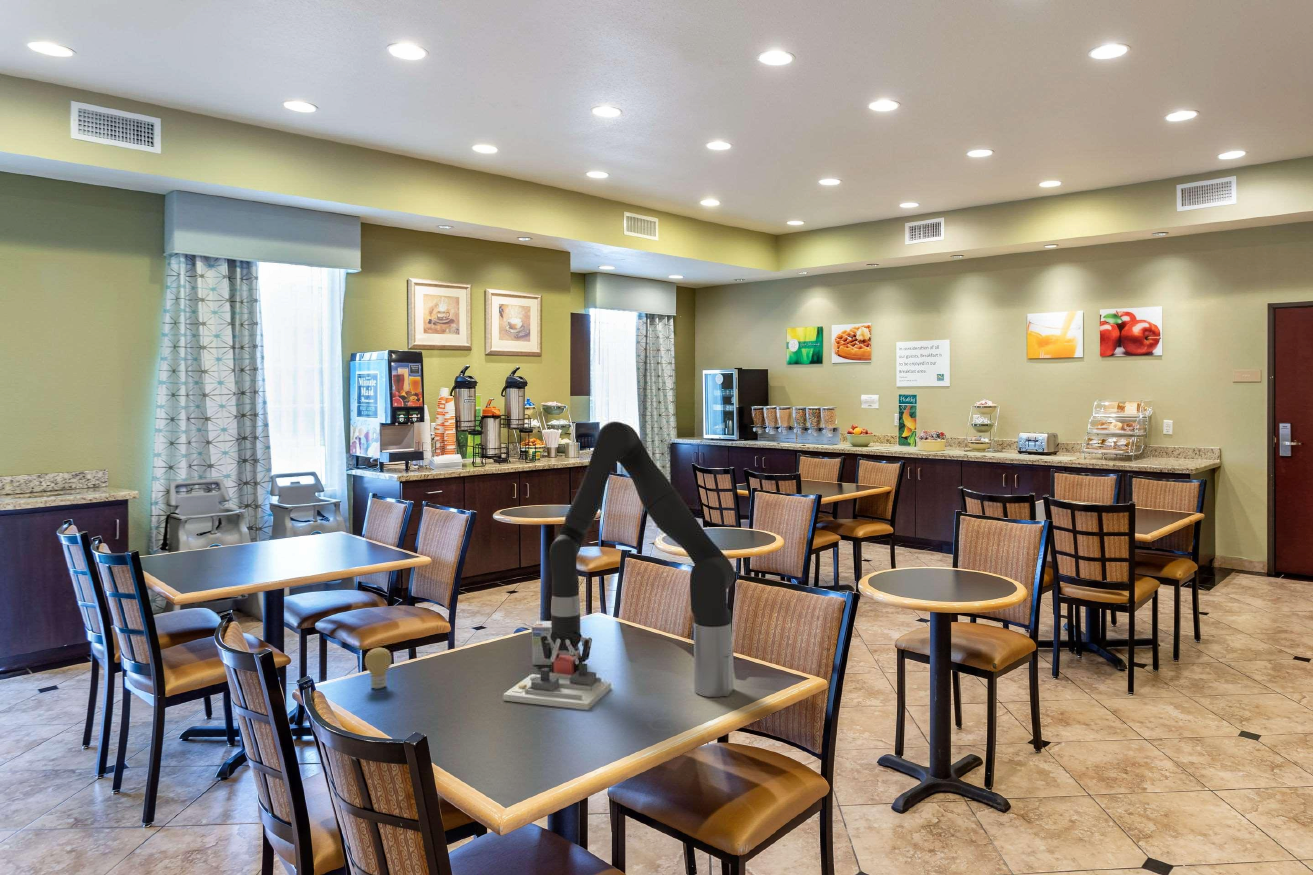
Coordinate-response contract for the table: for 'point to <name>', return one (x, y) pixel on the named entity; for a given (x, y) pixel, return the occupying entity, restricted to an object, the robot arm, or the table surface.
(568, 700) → the panel
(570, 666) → the cap
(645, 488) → the robot arm
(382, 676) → the light bulb
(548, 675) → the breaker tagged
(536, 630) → the light bulb box
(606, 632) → the table surface
